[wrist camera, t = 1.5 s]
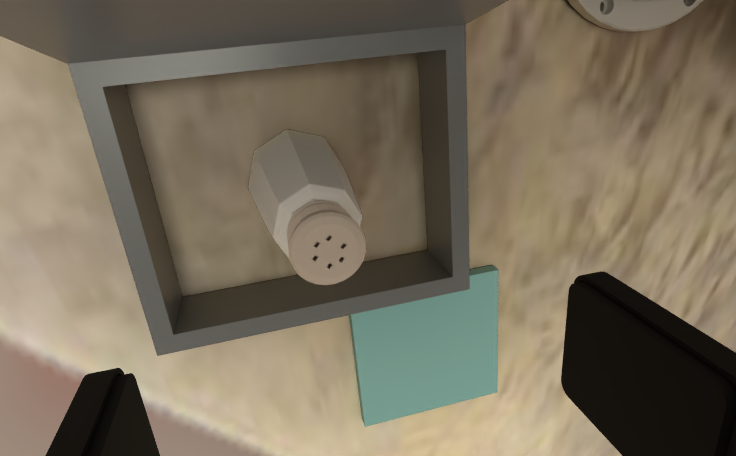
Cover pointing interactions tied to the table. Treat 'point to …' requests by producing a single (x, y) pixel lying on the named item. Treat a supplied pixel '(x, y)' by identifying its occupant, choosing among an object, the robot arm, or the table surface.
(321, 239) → the salt shaker
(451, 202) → the case
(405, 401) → the pad
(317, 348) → the table surface
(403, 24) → the lid
